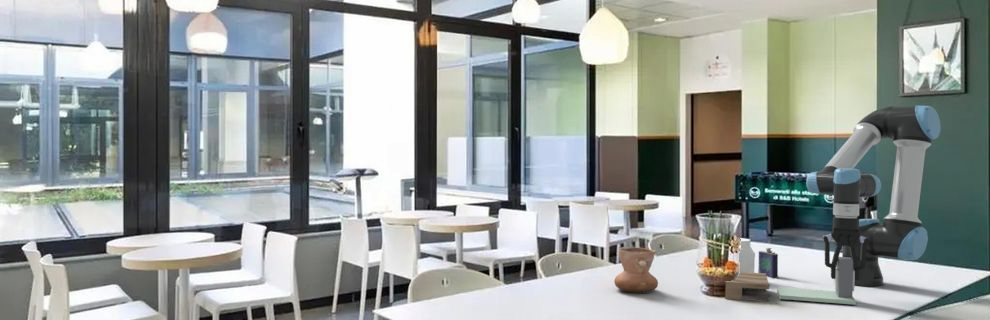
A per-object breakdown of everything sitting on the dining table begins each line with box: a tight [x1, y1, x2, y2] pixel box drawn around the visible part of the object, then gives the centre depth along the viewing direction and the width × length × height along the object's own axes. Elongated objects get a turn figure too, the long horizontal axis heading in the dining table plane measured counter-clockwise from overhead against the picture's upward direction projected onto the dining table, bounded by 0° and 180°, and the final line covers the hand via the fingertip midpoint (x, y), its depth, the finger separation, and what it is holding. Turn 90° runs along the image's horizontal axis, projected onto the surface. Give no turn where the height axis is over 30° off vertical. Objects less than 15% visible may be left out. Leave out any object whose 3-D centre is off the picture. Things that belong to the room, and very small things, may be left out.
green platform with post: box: [776, 256, 857, 306], centre depth 229 cm, size 13×22×13 cm, turn 71°
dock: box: [724, 272, 770, 302], centre depth 235 cm, size 20×13×6 cm, turn 161°
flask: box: [757, 247, 779, 279], centre depth 268 cm, size 9×3×11 cm, turn 21°
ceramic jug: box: [613, 246, 659, 294], centre depth 239 cm, size 18×14×14 cm
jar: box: [739, 237, 756, 273], centre depth 259 cm, size 12×10×15 cm
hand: (844, 289), depth 226 cm, fingers closed on green platform with post, 4 cm apart
